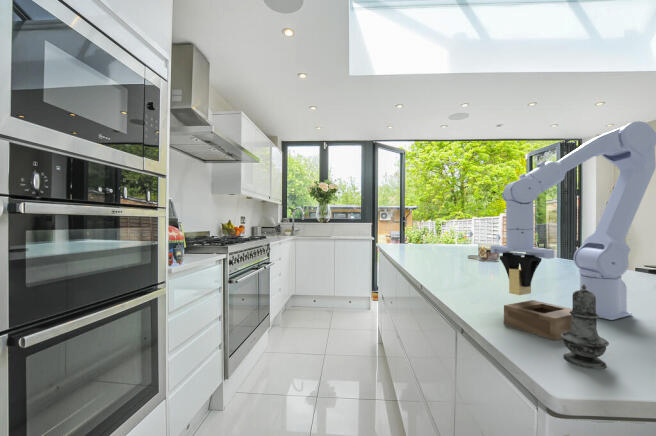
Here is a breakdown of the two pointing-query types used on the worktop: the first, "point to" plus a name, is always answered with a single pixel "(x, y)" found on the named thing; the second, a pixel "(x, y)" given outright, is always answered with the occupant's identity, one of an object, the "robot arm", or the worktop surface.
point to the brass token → (517, 282)
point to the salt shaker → (584, 333)
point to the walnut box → (539, 318)
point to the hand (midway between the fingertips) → (520, 285)
